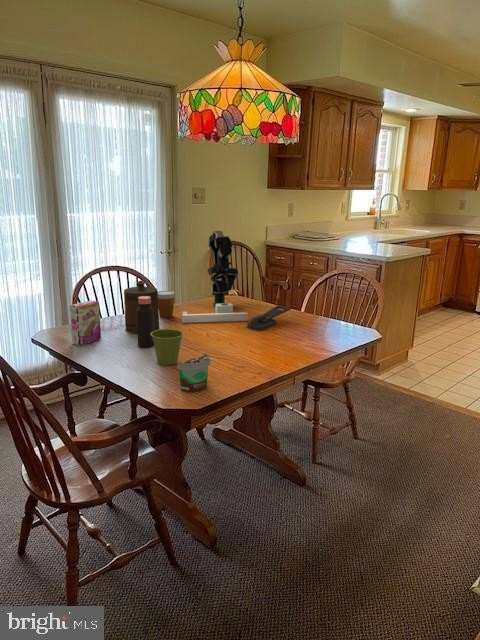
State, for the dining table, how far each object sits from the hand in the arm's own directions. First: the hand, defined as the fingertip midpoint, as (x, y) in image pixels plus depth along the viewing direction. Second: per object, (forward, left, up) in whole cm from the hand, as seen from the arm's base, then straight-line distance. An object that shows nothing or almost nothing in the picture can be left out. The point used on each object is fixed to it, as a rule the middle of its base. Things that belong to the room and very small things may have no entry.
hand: (225, 292), depth 237 cm
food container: (+87, -21, -12) cm, 90 cm away
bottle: (+42, -38, -12) cm, 58 cm away
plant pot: (+62, -30, -12) cm, 69 cm away
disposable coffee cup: (-1, -29, -12) cm, 31 cm away
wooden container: (+19, -40, -12) cm, 46 cm away
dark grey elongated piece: (+18, +18, -12) cm, 28 cm away
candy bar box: (+34, -62, -12) cm, 72 cm away
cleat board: (+6, -6, -12) cm, 15 cm away
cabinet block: (-2, 0, -12) cm, 12 cm away
